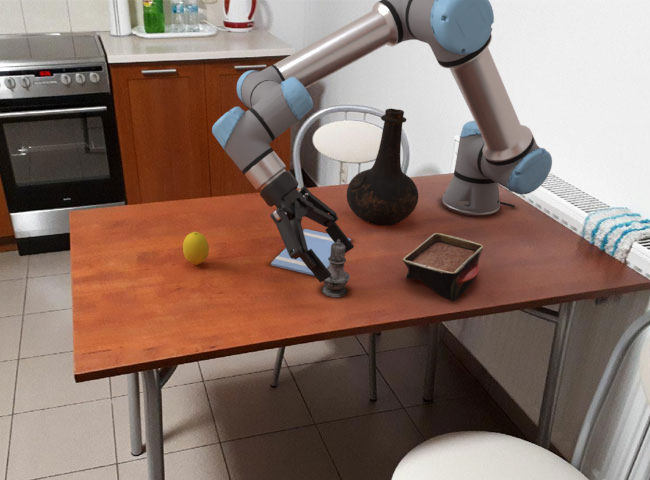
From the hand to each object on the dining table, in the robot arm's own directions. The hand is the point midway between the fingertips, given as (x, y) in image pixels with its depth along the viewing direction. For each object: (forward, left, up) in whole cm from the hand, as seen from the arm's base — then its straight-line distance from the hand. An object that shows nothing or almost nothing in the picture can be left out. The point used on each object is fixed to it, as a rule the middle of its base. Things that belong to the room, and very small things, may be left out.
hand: (338, 264), depth 129 cm
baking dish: (-24, +3, -7) cm, 25 cm away
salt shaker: (0, 0, -7) cm, 7 cm away
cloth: (-2, -18, -6) cm, 19 cm away
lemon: (+24, -20, -7) cm, 32 cm away
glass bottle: (-27, -30, -7) cm, 40 cm away
